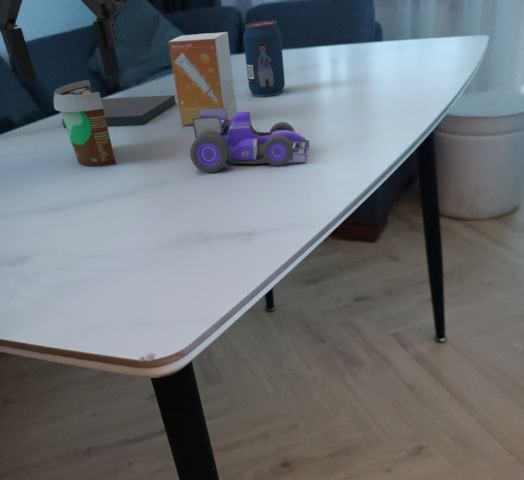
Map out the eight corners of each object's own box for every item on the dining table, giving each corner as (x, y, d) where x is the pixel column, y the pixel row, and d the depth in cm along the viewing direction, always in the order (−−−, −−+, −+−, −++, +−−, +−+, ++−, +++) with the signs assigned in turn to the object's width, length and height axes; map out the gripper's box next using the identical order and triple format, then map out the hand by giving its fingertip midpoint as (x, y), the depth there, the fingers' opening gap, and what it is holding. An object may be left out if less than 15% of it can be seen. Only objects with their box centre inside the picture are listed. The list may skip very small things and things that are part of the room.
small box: (181, 126, 100) (166, 41, 93) (195, 116, 105) (182, 34, 98) (226, 125, 98) (214, 37, 91) (238, 115, 103) (228, 30, 96)
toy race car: (306, 166, 76) (302, 114, 73) (193, 174, 79) (184, 123, 75) (309, 144, 84) (307, 96, 80) (207, 152, 86) (199, 105, 83)
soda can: (272, 87, 119) (266, 19, 112) (292, 91, 114) (287, 20, 107) (243, 94, 116) (235, 25, 109) (262, 99, 111) (254, 27, 104)
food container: (66, 154, 94) (47, 86, 88) (105, 146, 95) (88, 79, 89) (74, 175, 84) (53, 100, 78) (117, 166, 85) (99, 92, 80)
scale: (58, 128, 109) (52, 108, 107) (98, 107, 120) (93, 89, 118) (143, 125, 104) (138, 104, 102) (176, 104, 115) (172, 84, 114)
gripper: (124, -130, 70) (161, 65, 82) (-46, -98, 77) (11, 77, 89) (93, -134, 64) (138, 77, 76) (-88, -99, 72) (-21, 89, 84)
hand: (70, 77), depth 83 cm, fingers open, 13 cm apart
